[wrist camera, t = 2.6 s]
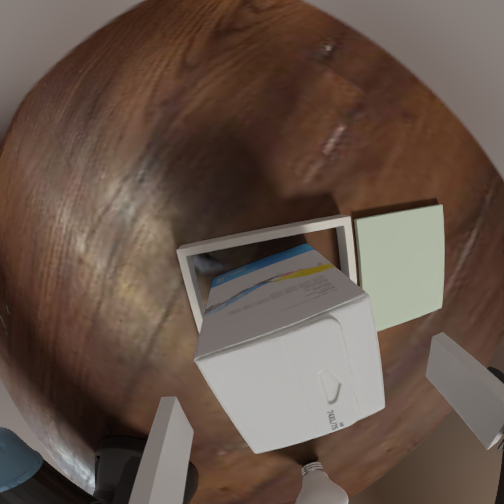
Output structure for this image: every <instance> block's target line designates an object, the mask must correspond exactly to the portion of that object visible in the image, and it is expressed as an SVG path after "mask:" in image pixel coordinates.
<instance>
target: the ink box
mask: <svg viewBox="0 0 504 504" xmlns="http://www.w3.org/2000/svg"><path fill="white" fill-rule="evenodd" d="M194 361H195V362H196V364H197V366H198V368H199V369H200V371H201V373H202V374H203V376H204V378H205V380H206V381H207V383H208V385H209V386H210V388H211V389H212V391H213V393H214V394H215V396H216V397H217V399H218V400H219V402H220V404H221V405H222V407H223V408H224V410H225V411H226V413H227V415H228V416H229V418H230V419H231V421H232V422H233V424H234V425H235V427H236V428H237V429H238V431H239V432H240V434H241V435H242V437H243V438H244V440H245V441H246V442H247V444H248V445H249V446H250V448H251V449H252V450H253V452H254V453H256V454H259V453H263V452H268V451H272V450H276V449H280V448H284V447H288V446H291V445H295V444H298V443H301V442H304V441H307V440H310V439H313V438H317V437H320V436H323V435H326V434H328V433H331V432H334V431H337V430H340V429H342V428H345V427H348V426H350V425H352V424H354V423H355V422H356V421H358V420H361V419H363V418H365V417H367V416H369V415H371V414H374V413H376V412H378V411H380V410H382V409H383V408H385V398H384V386H383V376H382V367H381V359H380V351H379V344H378V337H377V331H376V325H375V320H374V315H373V310H372V305H371V299H370V296H369V294H367V293H366V292H365V291H364V290H363V289H362V288H360V287H359V286H358V285H357V284H356V283H354V282H353V281H352V280H351V279H350V278H349V277H347V276H346V275H345V274H344V273H343V272H341V271H340V270H339V269H338V268H336V267H335V266H334V265H333V264H332V263H330V262H329V261H328V260H327V259H326V258H324V257H323V256H322V255H321V254H320V253H318V252H317V251H316V250H315V249H313V248H312V247H311V246H310V245H308V244H302V245H299V246H296V247H294V248H291V249H288V250H286V251H283V252H280V253H277V254H274V255H271V256H268V257H266V258H263V259H260V260H257V261H255V262H252V263H249V264H247V265H244V266H242V267H239V268H236V269H234V270H231V271H229V272H227V273H224V274H222V275H219V276H217V277H215V278H213V281H212V284H211V289H210V292H209V296H208V301H207V305H206V309H205V313H204V317H203V321H202V325H201V330H200V334H199V338H198V343H197V347H196V351H195V355H194Z"/></svg>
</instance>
